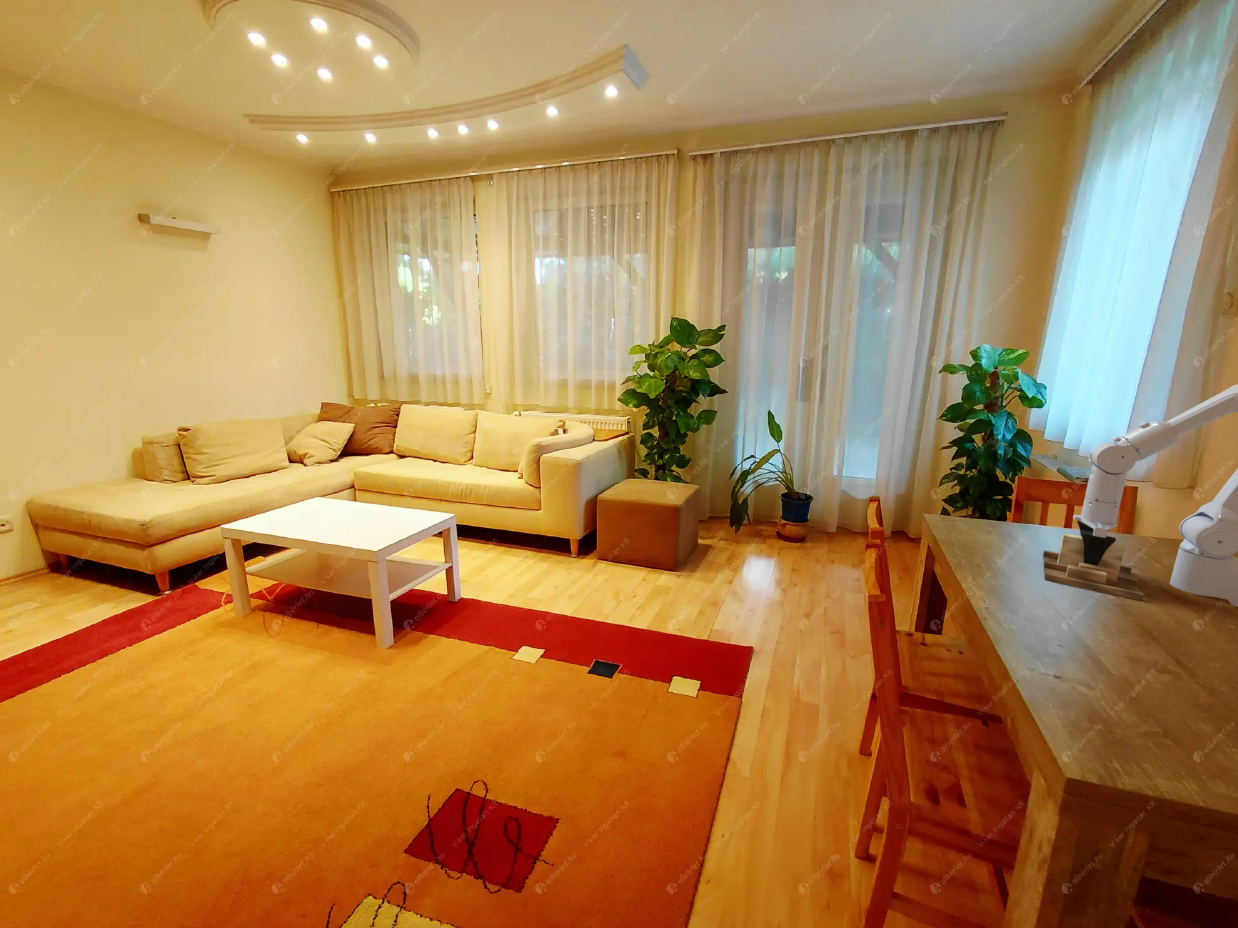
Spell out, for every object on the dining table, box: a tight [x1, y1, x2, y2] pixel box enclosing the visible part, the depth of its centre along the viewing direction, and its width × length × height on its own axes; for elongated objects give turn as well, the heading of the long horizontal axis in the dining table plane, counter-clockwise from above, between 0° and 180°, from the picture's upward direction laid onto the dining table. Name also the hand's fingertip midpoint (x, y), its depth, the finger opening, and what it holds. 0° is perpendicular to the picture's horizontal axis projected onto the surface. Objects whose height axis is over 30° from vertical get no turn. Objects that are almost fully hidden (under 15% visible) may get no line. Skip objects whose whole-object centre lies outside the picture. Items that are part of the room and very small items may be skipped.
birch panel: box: [1057, 532, 1126, 574], centre depth 117 cm, size 10×2×7 cm, turn 53°
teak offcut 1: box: [1066, 565, 1107, 585], centre depth 110 cm, size 6×2×3 cm, turn 53°
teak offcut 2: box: [1078, 562, 1118, 586], centre depth 112 cm, size 6×2×3 cm, turn 53°
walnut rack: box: [1042, 550, 1145, 602], centre depth 115 cm, size 15×17×2 cm
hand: (1088, 559), depth 117 cm, fingers open, 7 cm apart
